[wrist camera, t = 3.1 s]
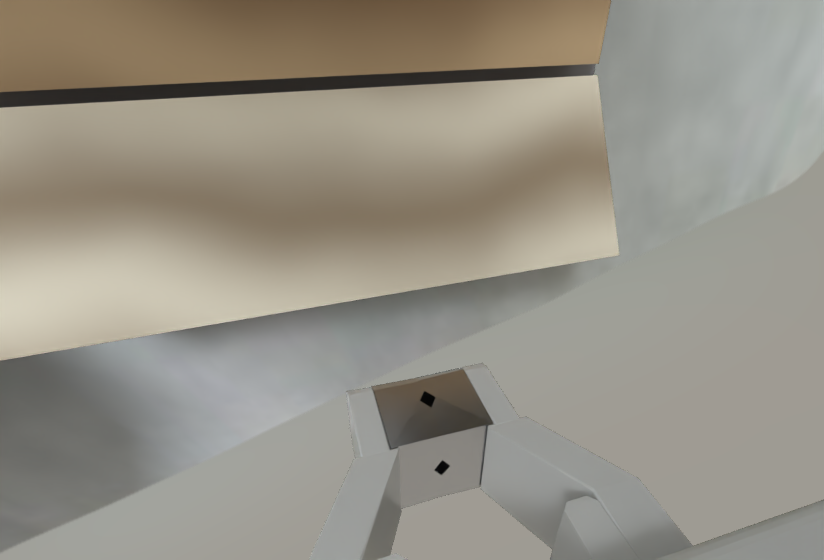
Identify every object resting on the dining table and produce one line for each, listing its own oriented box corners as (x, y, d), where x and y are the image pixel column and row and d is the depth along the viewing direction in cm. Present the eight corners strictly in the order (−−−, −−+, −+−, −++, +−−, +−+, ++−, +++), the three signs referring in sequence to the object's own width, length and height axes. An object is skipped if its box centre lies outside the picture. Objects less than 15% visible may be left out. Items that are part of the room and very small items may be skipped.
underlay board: (-254, -274, 10) (-298, -298, 9) (624, -180, 15) (645, -190, 15) (56, 311, 18) (47, 325, 18) (549, 236, 24) (560, 244, 23)
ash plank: (-27, 128, 14) (-66, 111, 12) (574, 90, 19) (597, 75, 17) (19, 353, 14) (-13, 362, 13) (594, 256, 19) (619, 255, 18)
